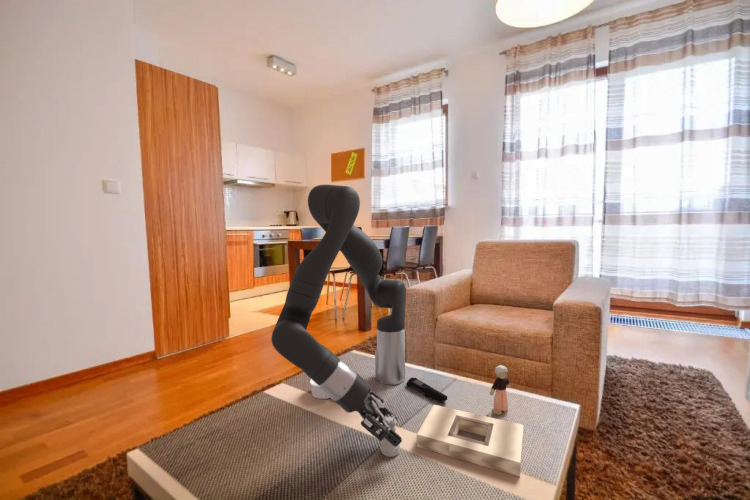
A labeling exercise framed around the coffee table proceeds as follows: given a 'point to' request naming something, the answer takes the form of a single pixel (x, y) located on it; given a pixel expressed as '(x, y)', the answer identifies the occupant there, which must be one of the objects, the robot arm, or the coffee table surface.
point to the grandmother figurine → (500, 390)
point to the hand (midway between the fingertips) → (396, 432)
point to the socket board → (494, 453)
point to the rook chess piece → (386, 445)
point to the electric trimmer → (426, 390)
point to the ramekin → (318, 391)
